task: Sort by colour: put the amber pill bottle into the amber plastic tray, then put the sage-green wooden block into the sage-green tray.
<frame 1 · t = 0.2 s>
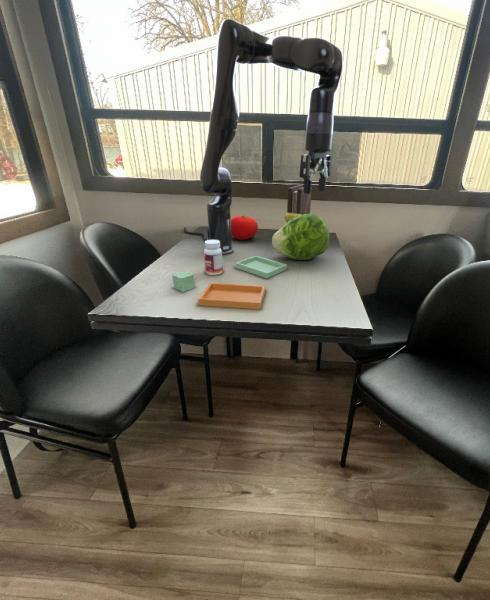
hand: (314, 192, 92), 29 cm above the table, tool pointing down, fingers open, 8 cm apart
amber tray: (233, 298, 89), on the table
sage block: (184, 287, 94), on the table
pill bottle: (214, 272, 106), on the table
lettuce: (299, 258, 124), on the table
sage tray: (260, 268, 111), on the table
tomato: (243, 239, 147), on the table
book: (297, 239, 149), on the table
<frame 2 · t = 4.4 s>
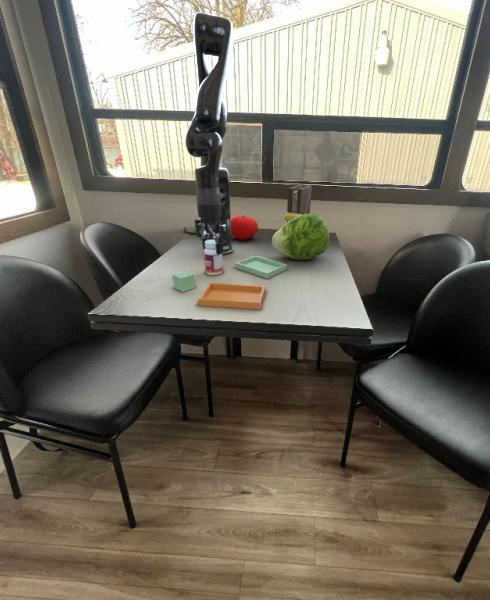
hand: (212, 251, 103), 8 cm above the table, tool pointing down, fingers closed on pill bottle, 6 cm apart
pill bottle: (214, 272, 106), on the table, touching gripper
everything else where it was.
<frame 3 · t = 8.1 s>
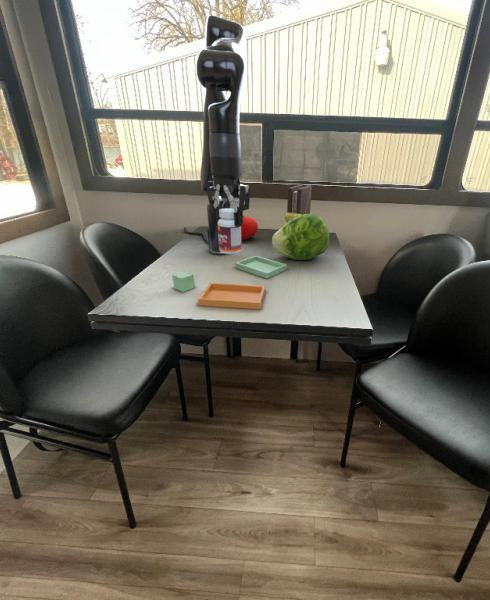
hand: (229, 223, 80), 22 cm above the table, tool pointing down, fingers closed on pill bottle, 6 cm apart
pill bottle: (230, 251, 83), point 14 cm above the table, touching gripper
everything else where it was.
when the fingers open (8 cm above the table, at t = 11.8 s): pill bottle stays where it is, resting on amber tray.
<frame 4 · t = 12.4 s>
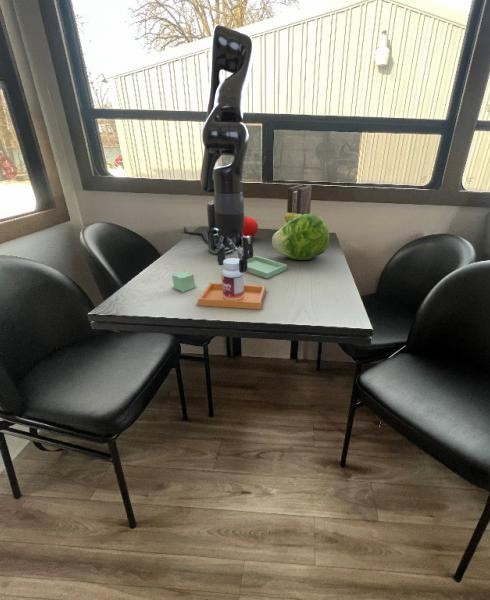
hand: (232, 268, 84), 10 cm above the table, tool pointing down, fingers open, 8 cm apart
pill bottle: (233, 297, 89), resting on amber tray
everything else where it was.
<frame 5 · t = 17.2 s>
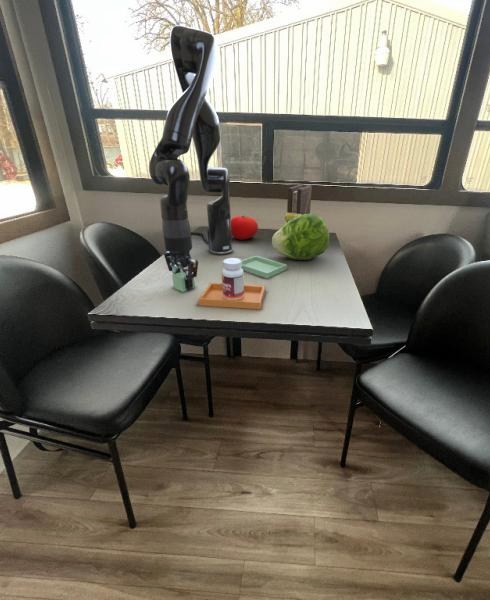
hand: (184, 286, 94), 0 cm above the table, tool pointing down, fingers closed on sage block, 4 cm apart
sage block: (184, 287, 94), on the table, touching gripper
everything else where it was.
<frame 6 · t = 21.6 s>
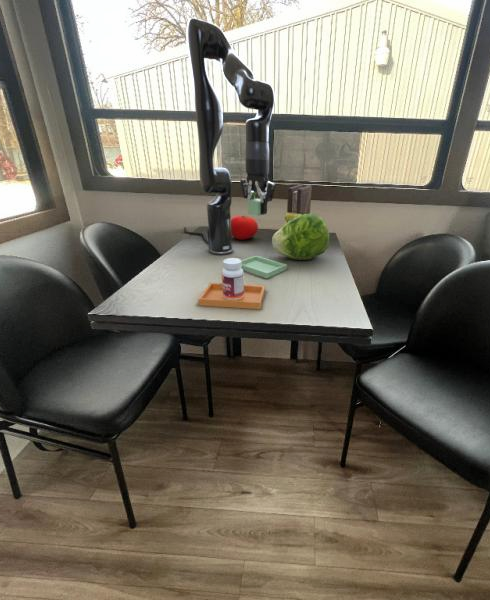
hand: (257, 212, 101), 21 cm above the table, tool pointing down, fingers closed on sage block, 4 cm apart
sage block: (257, 213, 101), point 20 cm above the table, touching gripper
everything else where it was.
when the fingers open (1 cm above the table, at t = 26.4 s): sage block stays where it is, resting on sage tray.
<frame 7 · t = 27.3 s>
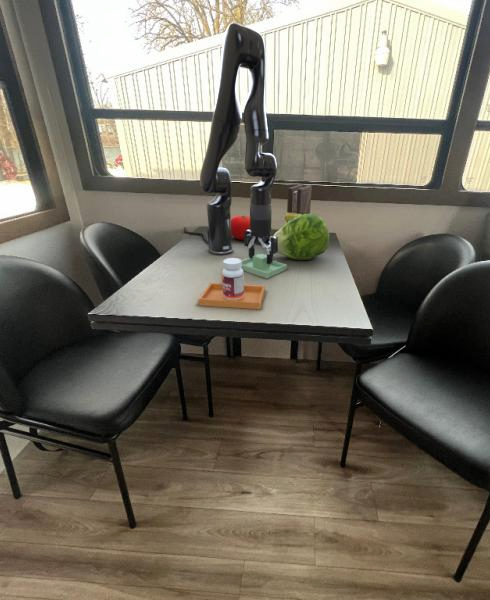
hand: (260, 260, 110), 3 cm above the table, tool pointing down, fingers open, 8 cm apart
sage block: (261, 267, 111), resting on sage tray
everything else where it was.
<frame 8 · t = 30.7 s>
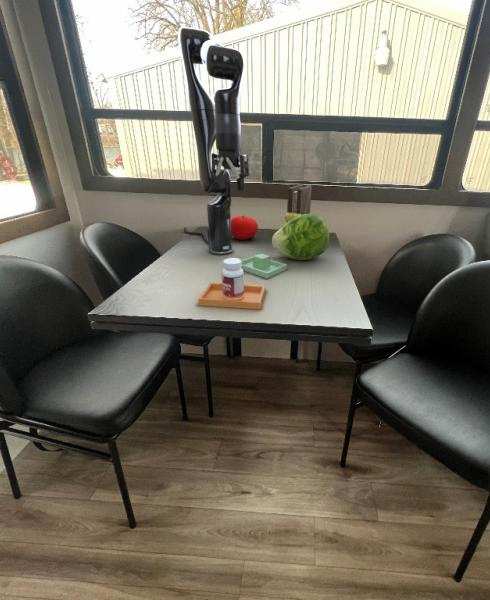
hand: (230, 189, 96), 28 cm above the table, tool pointing down, fingers open, 8 cm apart
nothing on the table moved.
at the end: pill bottle inside the target area in the amber tray (0.1 cm from its centre), point 0.3 cm above the amber tray's base; pill bottle tilted 0°; sage block inside the target area in the sage tray (0.2 cm from its centre), point 0.5 cm above the sage tray's base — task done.
